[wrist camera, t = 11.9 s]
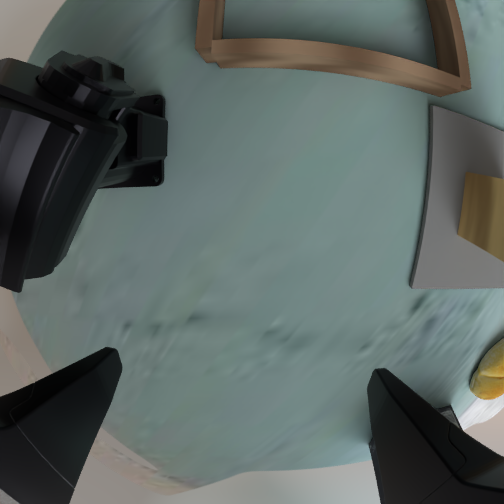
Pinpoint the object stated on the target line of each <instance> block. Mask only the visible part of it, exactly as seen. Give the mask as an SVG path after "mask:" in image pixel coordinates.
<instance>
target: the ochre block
mask: <svg viewBox="0 0 504 504" xmlns="http://www.w3.org/2000/svg"><path fill="white" fill-rule="evenodd" d="M457 235H458V236H460V237H462V238H464V239H465V240H467V241H469V242H471V243H473V244H474V245H476V246H478V247H479V248H481V249H483V250H485V251H486V252H488V253H490V254H491V255H493V256H495V257H496V258H498V259H499V260H501V261H503V262H504V179H501V178H496V177H491V176H486V175H481V174H476V173H470V172H466V175H465V186H464V195H463V203H462V210H461V217H460V223H459V229H458V234H457Z"/></svg>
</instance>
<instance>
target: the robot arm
mask: <svg viewBox="0 0 504 504" xmlns="http://www.w3.org/2000/svg"><path fill="white" fill-rule="evenodd" d="M134 91H135V90H134V89H132V88H131V87H130V86H129V85H127V84H126V82H125V81H124V69H123V68H122V67H120V66H119V65H117V64H115V63H113V62H111V61H109V60H106V59H104V58H102V57H98V56H97V57H91V58H86V57H84V56H82V55H76V56H74V55H72V54H69V53H67V52H65V51H60V52H59V53H57V54H56V55H54V56H53V57H51V58H50V59H48V61H47V62H46V64H45V66H44V67H43V68H41V67H38V66H35V65H32V64H29V63H26V62H22V61H19V60H16V59H13V58H6V59H2V60H0V286H1V287H4V288H6V289H9V290H12V291H14V292H17V293H19V292H21V291H22V287H23V283H24V279H32V278H39V277H44V276H46V275H48V274H51V273H52V272H53V271H54V268H55V267H56V266H57V265H58V264H59V263H60V262H61V261H62V260H63V259H64V257H65V256H66V255H67V252H68V250H69V247H70V245H71V243H72V240H73V238H74V236H75V234H76V231H77V229H78V227H79V225H80V223H81V221H82V219H83V216H84V214H85V212H86V210H87V208H88V206H89V204H90V202H91V200H92V199H93V197H94V195H95V193H96V191H97V189H102V188H120V187H147V186H159V185H161V184H162V183H163V181H164V159H165V158H166V156H167V132H168V121H167V120H166V119H165V98H164V97H163V96H161V95H151V96H144V97H139V96H138V95H137V94H135V93H134ZM157 99H160V103H159V104H158V105H156V100H157ZM155 176H158V178H159V180H158V182H156V181H155V179H154V178H155ZM121 373H122V363H121V360H120V357H119V353H118V351H117V349H115V348H111V347H105V348H103V349H101V350H99V351H97V352H95V353H93V354H91V355H89V356H87V357H85V358H83V359H81V360H79V361H77V362H75V363H73V364H71V365H69V366H67V367H65V368H63V369H61V370H59V371H57V372H55V373H53V374H51V375H49V376H47V377H44V378H42V379H40V380H38V381H36V382H35V383H32V384H30V385H28V386H26V387H23V388H21V389H19V390H17V391H14V392H12V393H9V394H6V395H4V396H1V397H0V504H69V503H70V500H71V498H72V495H73V492H74V488H75V486H76V484H77V481H78V479H79V476H80V474H81V471H82V469H83V466H84V464H85V461H86V459H87V457H88V454H89V452H90V449H91V447H92V445H93V442H94V440H95V438H96V436H97V433H98V431H99V429H100V426H101V424H102V422H103V420H104V418H105V415H106V413H107V411H108V409H109V407H110V404H111V402H112V399H113V396H114V393H115V390H116V387H117V384H118V381H119V378H120V376H121ZM367 394H368V402H369V412H370V422H371V429H372V434H373V439H374V443H375V448H376V453H377V458H378V463H379V468H380V474H381V479H382V485H383V491H384V498H385V504H504V457H503V456H501V455H499V454H497V453H496V452H494V451H492V450H491V449H489V448H488V447H486V446H484V445H483V444H481V443H480V442H478V441H476V440H475V439H474V438H472V437H471V436H469V435H468V434H466V433H465V432H464V431H462V430H461V429H460V428H459V427H457V426H456V425H455V424H454V423H452V422H450V420H449V419H447V418H446V417H445V416H444V415H442V414H441V413H440V412H439V411H438V410H436V409H435V408H434V407H433V406H431V405H430V404H429V403H428V402H426V401H425V400H424V399H423V398H422V397H420V396H419V395H418V394H417V393H415V392H414V391H413V390H412V389H411V388H409V387H408V386H407V385H406V384H404V383H403V382H402V381H401V380H400V379H398V378H397V377H396V376H395V375H394V374H392V373H391V372H390V371H389V370H387V369H386V368H378V369H375V370H374V371H373V373H372V376H371V378H370V381H369V383H368V387H367Z"/></svg>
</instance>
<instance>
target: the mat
mask: <svg viewBox="0 0 504 504" xmlns="http://www.w3.org/2000/svg"><path fill="white" fill-rule="evenodd" d="M466 172H470V173H476V174H481V175H486V176H491V177H496V178H501V179H504V132H503V131H501V130H498V129H496V128H494V127H492V126H489V125H487V124H485V123H482V122H480V121H477V120H475V119H472V118H469V117H467V116H464V115H461V114H459V113H456V112H453V111H450V110H447V109H444V108H441V107H437V106H434V105H432V106H430V147H429V165H428V178H427V189H426V198H425V206H424V213H423V220H422V227H421V233H420V238H419V244H418V249H417V254H416V259H415V264H414V268H413V273H412V277H411V281H410V285H409V286H410V287H411V288H412V289H480V288H504V262H503V261H501V260H499V259H498V258H496V257H495V256H493V255H491V254H490V253H488V252H486V251H485V250H483V249H481V248H479V247H478V246H476V245H474V244H473V243H471V242H469V241H467V240H465V239H464V238H462V237H460V236H458V235H457V234H458V229H459V223H460V217H461V210H462V203H463V195H464V186H465V175H466Z"/></svg>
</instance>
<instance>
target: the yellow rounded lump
mask: <svg viewBox="0 0 504 504" xmlns="http://www.w3.org/2000/svg"><path fill="white" fill-rule="evenodd" d="M470 391H471V392H472V393H473V394H474V395H475V396H477V397H479V398H481V399H484V400H491V399H495V398H497V397H499V396H501V395H502V394H503V393H504V338H503V339H501V340H500V341H499V342H497V343H496V344H495V345H494V346H493V347H492V348H491V349H490V350H489V351H488V352H487V353H486V354H485V356H484V357H483V359H482V360H481V362H480V364H479V366H478V369H477V370H476V371H475V373H474V374H473V376H472V379H471V382H470Z"/></svg>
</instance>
